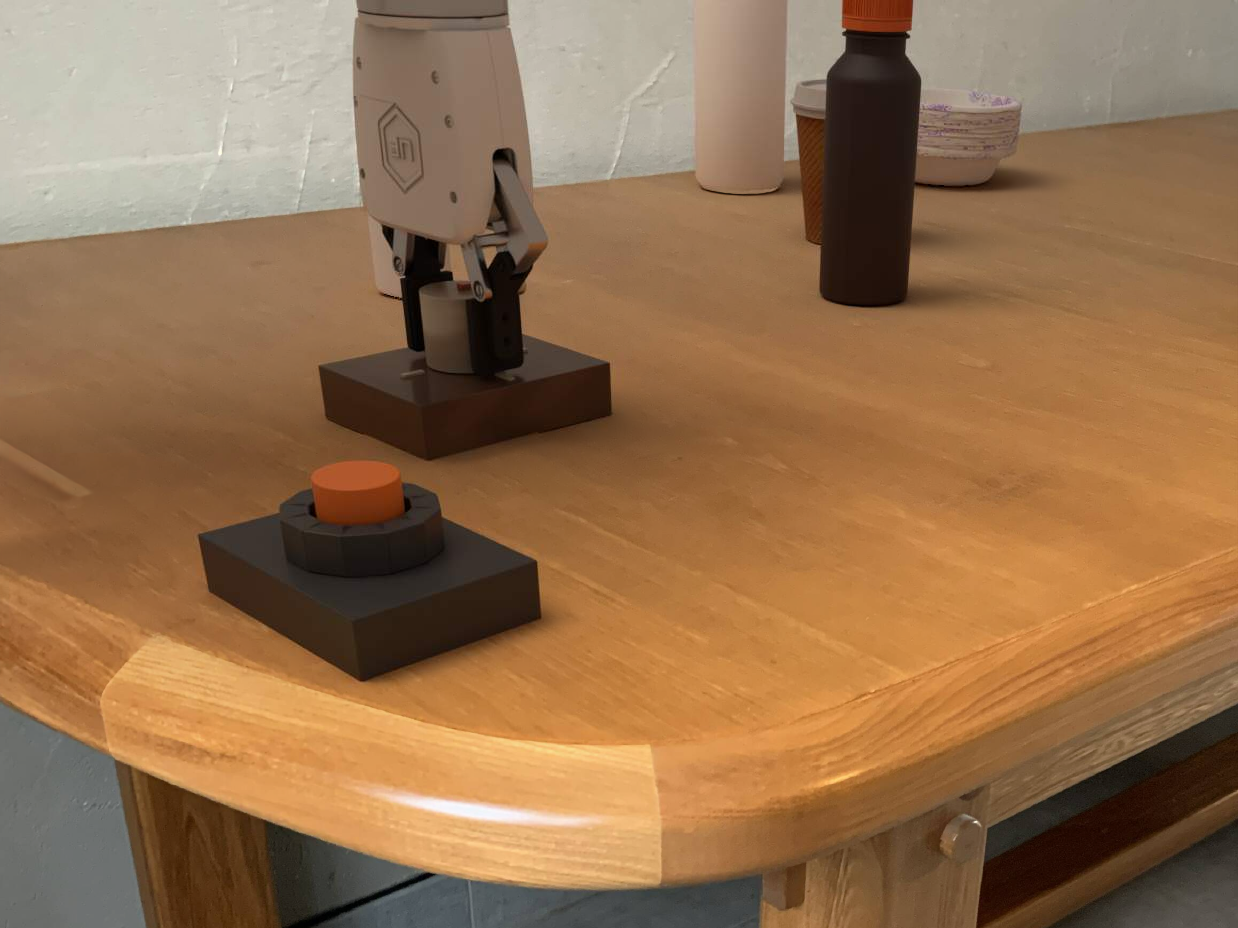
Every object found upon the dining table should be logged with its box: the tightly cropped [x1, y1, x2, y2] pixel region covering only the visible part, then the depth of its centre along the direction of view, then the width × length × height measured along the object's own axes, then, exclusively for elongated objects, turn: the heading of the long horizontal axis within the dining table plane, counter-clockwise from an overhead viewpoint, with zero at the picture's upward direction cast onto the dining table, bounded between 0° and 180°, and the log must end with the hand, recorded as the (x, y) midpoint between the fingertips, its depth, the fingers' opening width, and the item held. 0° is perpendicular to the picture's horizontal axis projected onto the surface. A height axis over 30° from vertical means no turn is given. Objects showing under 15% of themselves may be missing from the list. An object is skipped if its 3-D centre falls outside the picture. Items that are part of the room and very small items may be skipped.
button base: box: [197, 482, 542, 683], centre depth 65 cm, size 9×12×4 cm
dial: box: [419, 280, 475, 374], centre depth 85 cm, size 4×4×4 cm
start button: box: [310, 460, 405, 525], centre depth 63 cm, size 4×4×2 cm
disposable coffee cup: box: [789, 78, 827, 245], centre depth 129 cm, size 10×10×12 cm
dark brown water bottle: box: [818, 0, 922, 306], centre depth 110 cm, size 7×7×20 cm
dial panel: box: [318, 333, 613, 462], centre depth 87 cm, size 13×10×3 cm
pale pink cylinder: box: [693, 0, 788, 191], centre depth 143 cm, size 9×9×30 cm
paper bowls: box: [915, 87, 1023, 187], centre depth 157 cm, size 15×15×8 cm
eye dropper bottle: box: [366, 212, 452, 299], centre depth 108 cm, size 4×6×12 cm
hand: (465, 355), depth 86 cm, fingers open, 5 cm apart
